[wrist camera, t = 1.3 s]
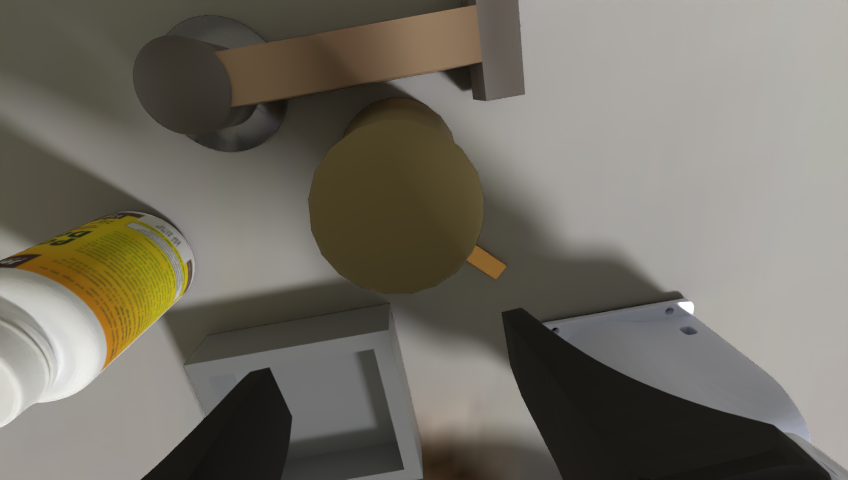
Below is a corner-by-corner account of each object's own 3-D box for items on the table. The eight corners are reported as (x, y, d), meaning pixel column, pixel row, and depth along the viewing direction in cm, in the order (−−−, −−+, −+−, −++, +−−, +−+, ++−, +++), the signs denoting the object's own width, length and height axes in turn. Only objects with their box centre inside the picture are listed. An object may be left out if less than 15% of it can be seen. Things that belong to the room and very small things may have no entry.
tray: (389, 303, 24) (388, 330, 21) (421, 441, 28) (423, 478, 25) (207, 335, 24) (183, 365, 21) (264, 468, 28) (249, 508, 25)
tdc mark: (454, 251, 23) (454, 252, 23) (465, 237, 22) (465, 238, 22) (495, 278, 23) (495, 279, 23) (505, 265, 23) (506, 266, 23)
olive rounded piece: (475, 184, 21) (543, 271, 11) (375, 233, 22) (354, 358, 12) (425, 74, 19) (452, 58, 9) (317, 132, 20) (229, 178, 10)
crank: (201, 147, 20) (162, 159, 16) (160, 35, 18) (108, 23, 15) (505, 93, 20) (525, 94, 16) (494, -26, 18) (515, -51, 15)
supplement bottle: (142, 186, 21) (-83, 271, 11) (221, 266, 22) (87, 399, 13) (68, 246, 21) (-200, 372, 12) (149, 318, 23) (-26, 479, 14)
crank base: (265, 5, 18) (264, 4, 18) (302, 139, 20) (301, 140, 20) (134, 29, 18) (132, 28, 18) (185, 160, 20) (182, 161, 20)
